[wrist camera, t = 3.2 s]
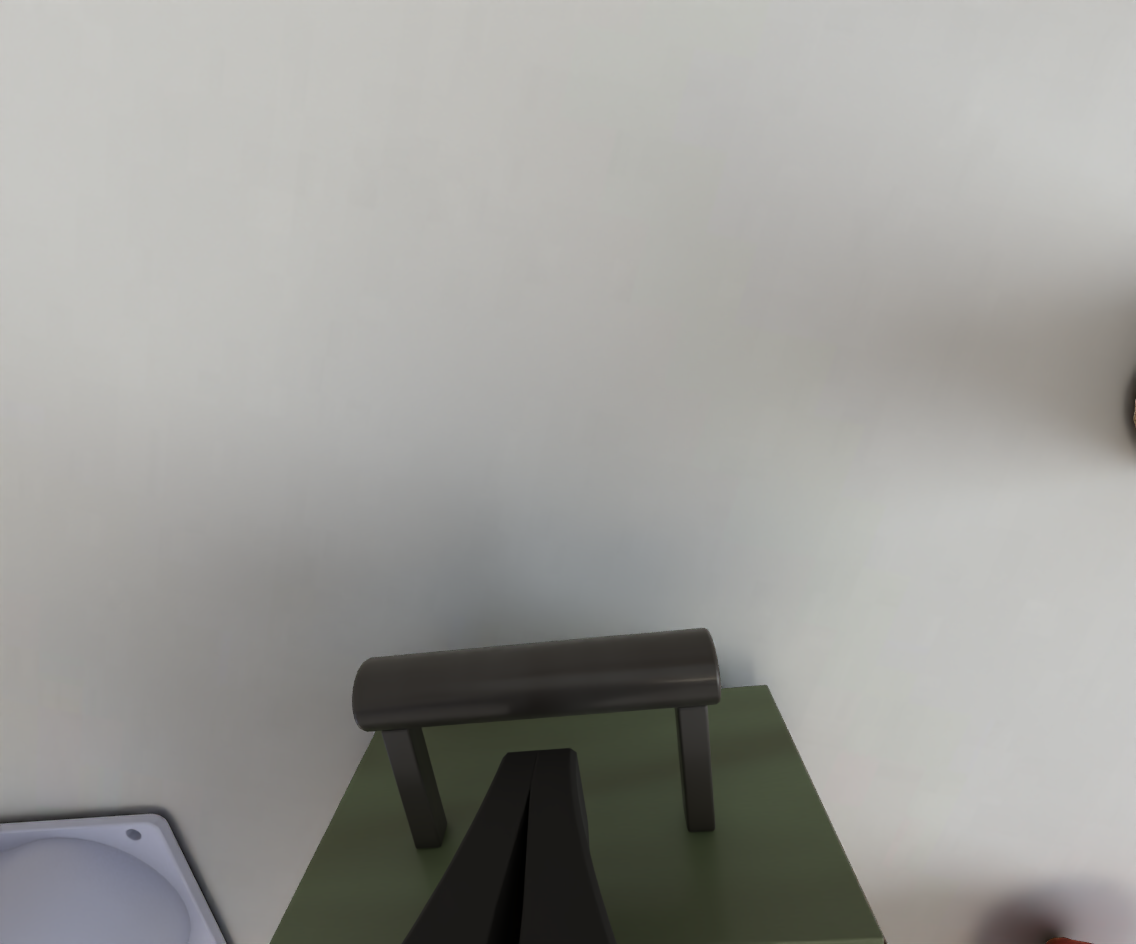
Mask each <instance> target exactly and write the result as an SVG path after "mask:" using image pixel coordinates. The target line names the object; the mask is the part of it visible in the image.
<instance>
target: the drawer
mask: <svg viewBox="0 0 1136 944" xmlns="http://www.w3.org/2000/svg"><path fill="white" fill-rule="evenodd" d="M352 707H353V714H354V718H355V721H356V723H357V725H358V726H359V728H361V729H362V730H364V731H367V732H369V731H376V732H375V734H374V736H373V738H372V740H371V742H370V744H369V746H368V748H367V750H366V752H365V754H364V756H363V758H362V760H361V762H360V764H359V766H358V768H357V770H356V772H355V774H354V776H353V778H352V780H351V782H350V784H349V786H348V788H347V790H346V792H345V794H344V796H343V798H342V800H341V802H340V804H339V806H338V808H337V810H336V812H335V814H334V816H333V818H332V820H331V822H330V824H329V826H328V828H327V830H326V832H325V834H324V836H323V838H322V840H321V842H320V844H319V846H318V848H317V850H316V852H315V854H314V856H313V858H312V860H311V862H310V864H309V866H308V868H307V870H306V872H305V874H304V876H303V878H302V880H301V882H300V884H299V886H298V888H297V890H296V892H295V894H294V896H293V898H292V900H291V902H290V904H289V906H288V908H287V910H286V912H285V914H284V916H283V918H282V920H281V922H280V924H279V926H278V928H277V930H276V932H275V934H274V936H273V938H272V940H271V942H270V944H402V942H403V941H404V939H405V937H406V936H407V934H408V933H409V931H410V930H411V928H412V926H413V925H414V923H415V922H416V920H417V918H418V917H419V915H420V913H421V912H422V910H423V908H424V907H425V905H426V903H427V902H428V900H429V898H430V897H431V895H432V893H433V892H434V890H435V888H436V887H437V885H438V883H439V882H440V880H441V878H442V876H443V875H444V873H445V871H446V869H447V868H448V866H449V864H450V862H451V860H452V859H453V857H454V855H455V853H456V851H457V849H458V848H459V846H460V844H461V842H462V840H463V838H464V836H465V835H466V833H467V831H468V829H469V827H470V825H471V823H472V821H473V819H474V817H475V815H476V813H477V812H478V810H479V808H480V806H481V804H482V802H483V800H484V797H485V795H486V793H487V791H488V789H489V787H490V785H491V783H492V781H493V778H494V776H495V774H496V772H497V770H498V767H499V765H500V763H501V761H502V758H503V757H504V756H505V755H506V754H507V752H519V751H533V750H547V749H561V748H571V749H572V750H574V751H575V752H577V758H578V764H579V770H580V776H581V782H582V788H583V794H584V801H585V807H586V813H587V819H588V830H589V847H590V854H591V858H592V862H593V867H594V870H595V874H596V878H597V881H598V885H599V888H600V892H601V895H602V898H603V902H604V905H605V908H606V911H607V915H608V918H609V921H610V924H611V927H612V931H613V934H614V937H615V940H616V943H617V944H884V937H883V935H882V932H881V930H880V928H879V926H878V924H877V922H876V919H875V917H874V915H873V913H872V911H871V909H870V906H869V904H868V902H867V900H866V898H865V896H864V893H863V891H862V889H861V887H860V885H859V883H858V881H857V878H856V876H855V874H854V872H853V870H852V868H851V865H850V863H849V861H848V859H847V857H846V855H845V852H844V850H843V848H842V846H841V844H840V842H839V840H838V837H837V835H836V833H835V831H834V829H833V827H832V824H831V822H830V820H829V818H828V816H827V814H826V811H825V809H824V807H823V805H822V803H821V801H820V798H819V796H818V794H817V792H816V790H815V788H814V786H813V783H812V781H811V779H810V777H809V775H808V773H807V770H806V768H805V766H804V764H803V762H802V760H801V757H800V755H799V753H798V751H797V749H796V747H795V745H794V742H793V740H792V738H791V736H790V734H789V732H788V729H787V727H786V725H785V723H784V721H783V719H782V716H781V714H780V712H779V710H778V708H777V706H776V703H775V701H774V699H773V697H772V695H771V693H770V691H769V688H768V686H767V685H760V686H747V687H734V688H722V689H721V680H720V672H719V665H718V660H717V655H716V651H715V647H714V643H713V640H712V637H711V635H710V633H709V631H708V630H707V629H705V628H697V629H686V630H674V631H663V632H652V633H641V634H630V635H618V636H607V637H596V638H585V639H573V640H562V641H551V642H540V643H529V644H517V645H506V646H495V647H484V648H472V649H461V650H450V651H439V652H428V653H416V654H405V655H394V656H383V657H372V658H369V659H367V660H366V661H365V662H364V663H363V664H362V665H361V666H360V668H359V670H358V672H357V675H356V678H355V681H354V686H353V694H352Z"/></svg>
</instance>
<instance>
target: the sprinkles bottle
mask: <svg viewBox="0 0 1136 944" xmlns="http://www.w3.org/2000/svg"><path fill="white" fill-rule="evenodd" d="M1133 420H1134V422H1135V427H1136V400H1135V413H1134V418H1133Z"/></svg>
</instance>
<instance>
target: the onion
mask: <svg viewBox="0 0 1136 944" xmlns="http://www.w3.org/2000/svg"><path fill="white" fill-rule="evenodd" d="M1046 944H1092V943H1087V942H1082V941H1076V940H1072V939H1068V938H1064V937H1061V938H1053V939H1050V940H1048V942H1047V943H1046Z"/></svg>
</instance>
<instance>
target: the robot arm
mask: <svg viewBox="0 0 1136 944" xmlns="http://www.w3.org/2000/svg"><path fill="white" fill-rule="evenodd" d="M0 944H227V943H226V941H225V939H224V937H223V935H222V933H221V931H220V929H219V927H218V925H217V923H216V921H215V919H214V917H213V915H212V912H211V910H210V908H209V906H208V904H207V902H206V900H205V898H204V896H203V894H202V892H201V890H200V888H199V886H198V884H197V882H196V880H195V877H194V875H193V873H192V871H191V869H190V867H189V865H188V863H187V861H186V859H185V857H184V855H183V853H182V851H181V849H180V847H179V845H178V842H177V840H176V838H175V836H174V834H173V832H172V830H171V828H170V826H169V824H168V822H167V821H166V819H165V818H163V817H162V816H160V815H157V814H138V815H123V816H108V817H93V818H78V819H63V820H48V821H33V822H18V823H3V824H0ZM402 944H617V943H616V940H615V937H614V934H613V931H612V927H611V924H610V921H609V918H608V915H607V911H606V908H605V905H604V902H603V898H602V895H601V892H600V888H599V885H598V881H597V878H596V874H595V870H594V867H593V862H592V858H591V854H590V847H589V830H588V819H587V813H586V807H585V801H584V794H583V788H582V782H581V776H580V770H579V764H578V758H577V752H575V751H574V750H572V749H571V748H561V749H547V750H533V751H519V752H507V754H506V755H505V756H504V757H503V758H502V761H501V763H500V765H499V767H498V770H497V772H496V774H495V776H494V778H493V781H492V783H491V785H490V787H489V789H488V791H487V793H486V795H485V797H484V800H483V802H482V804H481V806H480V808H479V810H478V812H477V813H476V815H475V817H474V819H473V821H472V823H471V825H470V827H469V829H468V831H467V833H466V835H465V836H464V838H463V840H462V842H461V844H460V846H459V848H458V849H457V851H456V853H455V855H454V857H453V859H452V860H451V862H450V864H449V866H448V868H447V869H446V871H445V873H444V875H443V876H442V878H441V880H440V882H439V883H438V885H437V887H436V888H435V890H434V892H433V893H432V895H431V897H430V898H429V900H428V902H427V903H426V905H425V907H424V908H423V910H422V912H421V913H420V915H419V917H418V918H417V920H416V922H415V923H414V925H413V926H412V928H411V930H410V931H409V933H408V934H407V936H406V937H405V939H404V941H403V942H402Z"/></svg>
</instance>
